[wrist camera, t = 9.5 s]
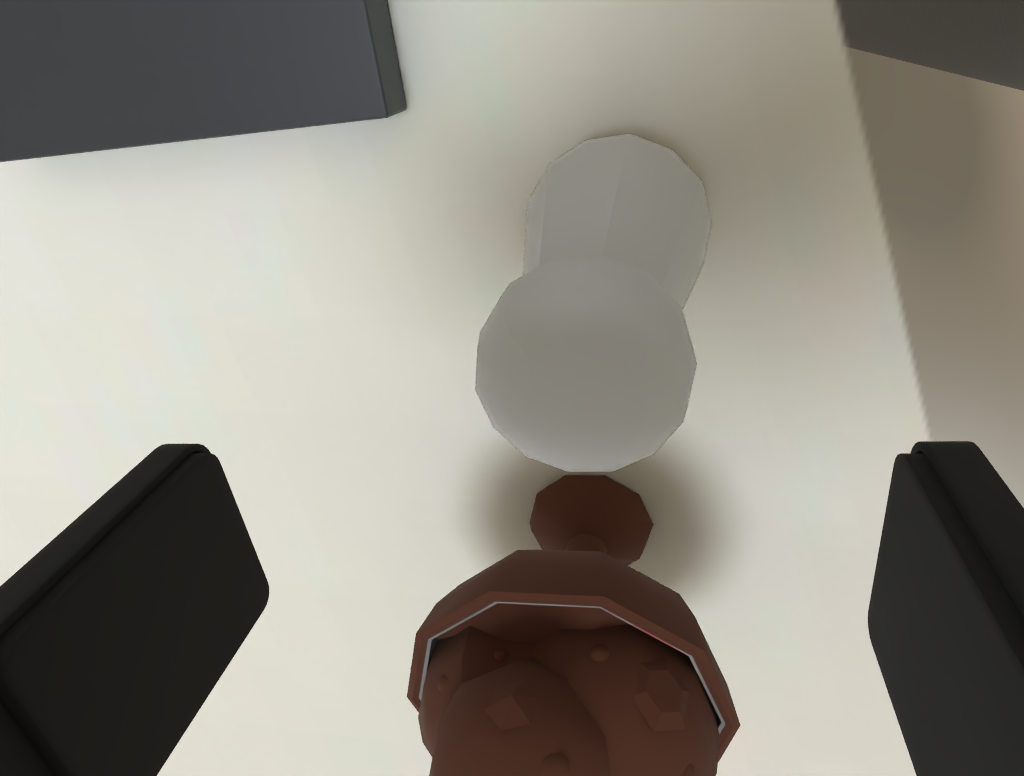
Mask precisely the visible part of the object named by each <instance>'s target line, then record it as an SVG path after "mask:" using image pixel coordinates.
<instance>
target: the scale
mask: <svg viewBox="0 0 1024 776" xmlns="http://www.w3.org/2000/svg"><path fill="white" fill-rule="evenodd" d="M404 110H406V103H405V97H404V92H403V87H402V81H401V76H400V71H399V65H398V60H397V54H396V49H395V44H394V38H393V33H392V27H391V22H390V17H389V11H388V6H387V1H386V0H0V162H5V161H14V160H22V159H31V158H40V157H49V156H57V155H66V154H75V153H83V152H92V151H101V150H110V149H118V148H127V147H136V146H144V145H153V144H162V143H171V142H179V141H188V140H197V139H206V138H214V137H223V136H232V135H240V134H249V133H258V132H267V131H275V130H284V129H293V128H302V127H310V126H319V125H328V124H336V123H345V122H354V121H363V120H371V119H380V118H387V117H390V116H392V115H394V114H397V113H399V112H402V111H404Z"/></svg>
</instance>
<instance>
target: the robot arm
mask: <svg viewBox="0 0 1024 776" xmlns="http://www.w3.org/2000/svg"><path fill="white" fill-rule="evenodd" d="M268 598H269V585H268V581H267V579H266V576H265V574H264V571H263V569H262V566H261V564H260V561H259V559H258V556H257V554H256V551H255V549H254V546H253V544H252V541H251V539H250V536H249V534H248V531H247V529H246V526H245V524H244V521H243V519H242V516H241V514H240V511H239V509H238V506H237V504H236V501H235V499H234V496H233V494H232V491H231V489H230V486H229V484H228V481H227V479H226V476H225V474H224V471H223V469H222V466H221V464H220V461H219V460H218V458H217V457H216V456H215V455H214V454H211V453H210V451H209V450H208V449H207V448H206V447H205V446H204V445H200V444H165V445H161V446H159V447H158V448H156V449H155V450H154V451H152V452H151V453H150V454H149V455H148V456H147V457H146V458H145V459H143V460H142V461H141V462H140V463H139V464H138V465H137V466H136V467H134V468H133V469H132V470H131V471H130V472H129V473H128V474H127V475H125V476H124V477H123V478H122V479H121V480H120V481H119V482H118V483H116V484H115V485H114V486H113V487H112V488H111V489H110V490H108V491H107V492H106V493H105V494H104V495H103V496H102V497H101V498H99V499H98V500H97V501H96V502H95V503H94V504H93V505H92V506H90V507H89V508H88V509H87V510H86V511H85V512H84V513H83V514H81V515H80V516H79V517H78V518H77V519H76V520H75V521H74V522H72V523H71V524H70V525H69V526H68V527H67V528H66V529H65V530H63V531H62V532H61V533H60V534H59V535H58V536H57V537H56V538H54V539H53V540H52V541H51V542H50V543H49V544H48V545H47V546H45V547H44V548H43V549H42V550H41V551H40V552H39V553H37V554H36V555H35V556H34V557H33V558H32V559H31V560H30V561H28V562H27V563H26V564H25V565H24V566H23V567H22V568H21V569H19V570H18V571H17V572H16V573H15V574H14V575H13V576H12V577H10V578H9V579H8V580H7V581H6V582H5V583H4V584H3V585H1V586H0V776H157V774H158V773H159V771H160V770H161V768H162V766H163V765H164V763H165V762H166V760H167V759H168V757H169V756H170V754H171V753H172V751H173V749H174V748H175V746H176V745H177V743H178V742H179V740H180V739H181V737H182V736H183V734H184V732H185V731H186V729H187V728H188V726H189V725H190V723H191V722H192V720H193V719H194V717H195V715H196V714H197V712H198V711H199V709H200V708H201V706H202V705H203V703H204V702H205V700H206V698H207V697H208V695H209V694H210V692H211V691H212V689H213V688H214V686H215V685H216V683H217V681H218V680H219V678H220V677H221V675H222V674H223V672H224V671H225V669H226V668H227V666H228V664H229V663H230V661H231V660H232V658H233V657H234V655H235V654H236V652H237V651H238V649H239V647H240V646H241V644H242V643H243V641H244V640H245V638H246V637H247V635H248V634H249V632H250V630H251V629H252V627H253V626H254V624H255V623H256V621H257V620H258V618H259V617H260V615H261V613H262V612H263V610H264V609H265V607H266V605H267V601H268ZM868 628H869V634H870V639H871V643H872V646H873V649H874V652H875V655H876V658H877V661H878V664H879V666H880V669H881V672H882V675H883V678H884V681H885V684H886V687H887V690H888V693H889V696H890V699H891V702H892V705H893V708H894V710H895V713H896V716H897V719H898V722H899V725H900V728H901V731H902V734H903V737H904V740H905V743H906V746H907V749H908V752H909V754H910V757H911V760H912V763H913V766H914V769H915V772H916V775H917V776H1024V508H1023V507H1022V506H1021V504H1020V503H1019V502H1018V500H1017V499H1016V497H1015V496H1014V495H1013V493H1012V492H1011V491H1010V489H1009V488H1008V487H1007V485H1006V484H1005V482H1004V481H1003V480H1002V478H1001V477H1000V476H999V474H998V473H997V472H996V470H995V469H994V467H993V466H992V465H991V463H990V462H989V461H988V459H987V458H986V457H985V455H984V454H983V453H982V451H981V450H980V448H979V447H978V446H977V445H976V444H975V443H973V442H968V441H966V442H965V441H962V442H961V441H960V442H957V441H951V442H949V441H948V442H917V443H916V444H915V445H914V446H913V448H912V450H911V454H899V455H897V457H896V459H895V462H894V467H893V473H892V478H891V484H890V490H889V496H888V501H887V507H886V513H885V518H884V524H883V530H882V536H881V541H880V547H879V553H878V559H877V564H876V570H875V576H874V582H873V587H872V593H871V599H870V605H869V610H868Z"/></svg>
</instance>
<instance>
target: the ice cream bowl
mask: <svg viewBox="0 0 1024 776" xmlns="http://www.w3.org/2000/svg"><path fill="white" fill-rule="evenodd" d="M530 525H531V530H532V532H533V534H534V536H535V537H536V539H537V541H538V543H539V544H540V546H541V548H542V550H517V551H515V552H514V553H512V554H510V555H509V556H507V557H505V558H504V559H502V560H500V561H499V562H497V563H495V564H494V565H492V566H490V567H489V568H487V569H485V570H484V571H482V572H480V573H478V574H477V575H475V576H473V577H472V578H470V579H468V580H467V581H465V582H463V583H462V584H460V585H459V586H457V587H456V588H455V589H454V590H453V591H451V592H450V593H449V594H448V595H446V596H445V597H444V598H443V599H441V600H440V601H439V602H438V603H436V605H435V606H434V608H433V609H432V611H431V612H430V614H429V615H428V617H427V618H426V620H425V621H424V623H423V624H422V625H421V627H420V628H419V630H418V631H417V633H416V638H415V645H414V652H413V659H412V666H411V673H410V679H409V686H408V693H407V697H408V699H409V700H410V701H411V703H412V704H413V705H414V707H415V708H416V709H417V711H418V712H419V716H418V719H419V724H420V730H421V735H422V741H423V743H424V745H425V746H426V748H427V750H428V751H429V753H430V754H431V756H432V764H431V769H430V775H429V776H715V775H716V773H717V764H718V762H719V760H720V758H721V757H722V755H723V753H724V752H725V750H726V748H727V747H728V745H729V743H730V742H731V740H732V738H733V737H734V735H735V733H736V732H737V730H738V728H739V727H740V723H739V720H738V717H737V714H736V710H735V707H734V704H733V701H732V698H731V695H730V692H729V689H728V686H727V683H726V681H725V679H724V677H723V675H722V673H721V671H720V669H719V666H718V664H717V662H716V660H715V658H714V656H713V654H712V652H711V650H710V648H709V645H708V643H707V641H706V639H705V637H704V635H703V633H702V631H701V629H700V627H699V624H698V622H697V620H696V618H695V616H694V615H693V613H692V612H691V610H690V609H689V607H688V606H687V604H686V603H685V601H684V600H683V599H682V597H681V596H680V594H678V593H676V592H675V591H673V590H671V589H669V588H667V587H665V586H664V585H662V584H660V583H658V582H656V581H655V580H653V579H651V578H649V577H647V576H645V575H644V574H642V573H640V572H638V571H636V570H634V569H633V568H631V567H629V566H627V565H629V564H631V563H633V562H634V561H636V560H638V559H639V558H640V556H641V554H642V553H643V550H644V547H645V545H646V542H647V539H648V537H649V534H650V532H651V529H652V526H653V523H652V521H651V519H650V517H649V515H648V513H647V510H646V508H645V506H644V504H643V502H642V500H641V498H640V496H639V494H637V493H635V492H633V491H631V490H630V489H628V488H626V487H624V486H623V485H621V484H619V483H617V482H615V481H614V480H612V479H610V478H608V477H606V476H564V477H562V478H561V479H559V480H558V481H556V482H555V483H553V484H551V485H550V486H548V487H547V488H545V489H544V490H542V491H541V492H539V493H537V495H536V499H535V503H534V507H533V511H532V515H531V519H530Z"/></svg>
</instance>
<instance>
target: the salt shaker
mask: <svg viewBox="0 0 1024 776" xmlns="http://www.w3.org/2000/svg"><path fill="white" fill-rule="evenodd" d="M711 224H712V221H711V216H710V212H709V208H708V204H707V200H706V196H705V191H704V187H703V183H702V180H701V179H700V178H699V177H698V176H697V175H696V174H695V173H694V172H693V171H692V170H691V169H690V168H689V167H688V166H687V165H686V164H685V163H684V162H683V161H682V160H681V159H680V157H679V156H678V155H677V154H676V153H675V152H674V151H673V150H672V149H670V148H667V147H665V146H662V145H659V144H657V143H654V142H651V141H649V140H646V139H643V138H641V137H638V136H635V135H633V134H623V135H616V136H610V137H603V138H596V139H589V140H585V141H583V142H582V143H580V144H579V145H577V146H576V147H574V148H573V149H571V150H570V151H568V152H567V153H565V154H564V155H562V156H561V157H559V158H558V159H556V160H555V161H553V162H552V163H550V164H549V165H548V167H547V169H546V170H545V172H544V174H543V176H542V177H541V179H540V181H539V183H538V184H537V186H536V188H535V190H534V191H533V193H532V195H531V197H530V198H529V200H528V209H527V222H526V235H525V249H524V265H523V276H522V277H520V278H518V279H517V280H515V281H513V282H511V283H510V284H509V286H508V287H507V288H506V290H505V291H504V293H503V294H502V296H501V297H500V299H499V301H498V303H497V304H496V306H495V308H494V309H493V311H492V313H491V314H490V316H489V318H488V319H487V321H486V323H485V325H484V326H483V328H482V330H481V331H480V336H479V342H478V349H477V367H476V386H475V390H476V392H477V395H478V397H479V399H480V401H481V403H482V405H483V407H484V409H485V411H486V413H487V415H488V418H489V420H490V422H491V424H492V426H493V428H494V429H495V430H496V431H498V432H499V433H500V434H501V435H502V436H503V437H504V438H505V439H506V440H508V441H509V442H510V443H511V444H512V445H513V446H514V447H515V448H517V449H518V450H519V451H520V452H521V453H522V454H523V455H524V456H525V457H528V458H531V459H533V460H536V461H539V462H542V463H545V464H548V465H550V466H553V467H556V468H559V469H562V470H565V471H568V472H613V471H616V470H618V469H620V468H623V467H625V466H627V465H630V464H632V463H634V462H637V461H639V460H641V459H643V458H646V457H648V456H650V455H653V454H654V453H655V452H656V451H657V450H658V449H659V448H660V447H661V446H662V444H663V443H664V442H665V441H666V440H667V439H668V438H669V437H670V436H671V435H672V434H673V433H674V431H675V430H676V429H677V428H678V427H679V426H680V425H681V424H682V423H683V420H684V417H685V413H686V410H687V407H688V402H689V398H690V393H691V388H692V384H693V379H694V374H695V370H696V365H697V362H696V358H695V354H694V350H693V346H692V343H691V339H690V336H689V332H688V329H687V325H686V322H685V318H684V315H683V311H682V310H683V308H684V306H685V303H686V301H687V299H688V297H689V295H690V293H691V290H692V288H693V286H694V284H695V282H696V279H697V277H698V275H699V273H700V271H701V268H702V266H703V264H704V260H705V255H706V250H707V245H708V239H709V234H710V229H711Z"/></svg>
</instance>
